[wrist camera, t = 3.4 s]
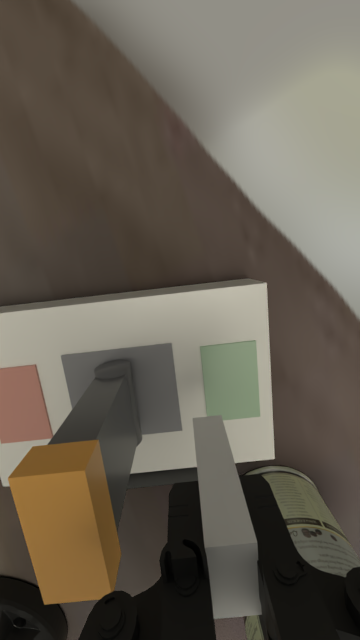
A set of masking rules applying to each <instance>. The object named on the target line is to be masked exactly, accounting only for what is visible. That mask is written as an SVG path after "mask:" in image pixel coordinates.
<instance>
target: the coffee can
mask: <svg viewBox="0 0 360 640" xmlns="http://www.w3.org/2000/svg"><path fill="white" fill-rule="evenodd" d="M252 474H261V475H262V476H263V477H264V478H265V479H266V481H267V482H268V483H269V484H270V487H271V489H272V492H273V494H274V497H275V499H276V501H277V504H278V507H279V509H280V511H281V513H282V516H283V518H284V521H285V523H286V526H287V528H288V530H289V533H290V535H291V538H292V540H293V543H294V545H295V547H296V549H297V551H298V552H299V554H300V555H301V556H302V557H303V559H304V560H306V561H307V562H308V563H309V564H310V565H312V566H314V567H315V568H317V569H319V570H322V571H324V572H328V573H331V574H335V575H339V576H343V577H346V574H347V572H349V571H350V570H351V569H352V568H355V567H360V559H359V558H358V556H357V555H356V553H355V551H354V550H353V548H352V546H351V545H350V543H349V542H348V540H347V538H346V537H345V535H344V534H343V532H342V530H341V528H340V527H339V525H338V524H337V522H336V520H335V519H334V517H333V515H332V514H331V512H330V511H329V509H328V507H327V506H326V504H325V502H324V501H323V499H322V498H321V496H320V494H319V492H318V490H317V488H316V486H315V484H314V483H313V482H312V481H311V480H310V479H309V478H308V477H307V476H306V475H304V474H303V473H301V472H299V471H297V470H295V469H292V468H290V467H285V466H267V467H262V468H258V469H255V470H253V471H250V472H248V473H247V474H245V475H252ZM261 609H262V607H261ZM243 618H244V624H245V630H246V636H247V640H267V632H266V623H265V619H264V615H263V611H262V615H252V616H243Z"/></svg>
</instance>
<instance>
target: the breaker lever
mask: <svg viewBox="0 0 360 640" xmlns="http://www.w3.org/2000/svg"><path fill="white" fill-rule="evenodd" d="M94 374H95V378H94V380H93V381H92V382H91V384H90V385H89V387H88V388H87V389H86V391H85V392H84V394H83V395H82V397H81V398H80V399H79V401H78V402H77V404H76V405H75V406H74V408H73V409H72V411H71V412H70V413H69V415H68V416H67V418H66V419H65V420H64V422H63V423H62V425H61V426H60V427H59V429H58V430H57V432H56V433H55V435H54V436H53V437H52V439H51V440H50V442H49V443H48V444H47V445H41V446H33V447H32V448H31V449H30V450H29V452H28V453H27V454H26V455H25V457H24V458H23V459H22V461H21V462H20V463H19V464H18V466H17V467H16V468H15V470H14V471H13V472H12V473H11V475H10V476H9V477H8V481H9V485H10V488H11V492H12V495H13V499H14V502H15V506H16V509H17V512H18V516H19V519H20V523H21V526H22V530H23V533H24V537H25V540H26V543H27V547H28V550H29V554H30V557H31V561H32V564H33V568H34V571H35V575H36V578H37V581H38V585H39V588H40V592H41V595H42V599H43V602H44V605H46V604H57V603H68V602H78V601H89V600H100V599H101V598H102V597H103V596H105V595H107V594H109V593H111V592H113V591H114V589H115V584H116V578H117V573H118V568H119V563H120V558H121V550H120V545H119V540H118V535H117V530H118V526H119V521H120V517H121V512H122V508H123V504H124V499H125V495H126V490H127V486H128V481H129V477H130V473H131V468H132V464H133V459H134V455H135V450H136V447H137V446H138V445H139V444H140V443H141V441H142V431H141V425H140V419H139V413H138V407H137V400H136V394H135V388H134V382H133V375H132V369H131V363H130V362H129V361H126V360H116V361H110V362H106V363H103V364H101V365H99V366H97V367H96V368H95V369H94Z"/></svg>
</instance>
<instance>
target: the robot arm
mask: <svg viewBox="0 0 360 640" xmlns="http://www.w3.org/2000/svg"><path fill="white" fill-rule="evenodd" d="M192 419H193V429H194V440H195V451H196V461H197V472H198V481H190V482H180V483H174V485H173V487H172V489H171V491H170V493H169V514H168V517H169V519H168V542H167V544H166V545H165V547H164V548H163V550H162V552H161V556H160V560H159V561H160V567H161V574H162V576H161V577H160V579H159V580H158V581H157V582H156V583H155V584H154V585H153V586H152V587H151V588H149V589H148V590H146V591H144V592H142V593H140V594H138V595H136V596H134V597H131V595H130V594H128V593H126V592H124V591H113V592H111V593H109V594H107V595H105V596H103V597H102V598H101V599H100V600H99V601H98V602H97V603H96V604H95V606H94V607H93V609H92V611H91V613H90V614H89V616H88V619H87V621H86V623H85V625H84V628H83V630H82V632H81V635H80V637H79V639H78V640H216V634H215V625H214V619H220V618H230V617H241V616H252V615H262V611H263V615H264V619H265V623H266V632H267V640H360V567H355V568H352V569H351V570H350V571H349V572H347V574H346V577H343V576H339V575H335V574H331V573H328V572H324V571H322V570H319V569H317V568H315V567H314V566H312V565H310V564H309V563H308V562H307V561H306V560H304V559H303V557H302V556H301V555H300V554H299V552H298V551H297V549H296V547H295V545H294V543H293V540H292V538H291V535H290V533H289V530H288V528H287V526H286V523H285V521H284V518H283V516H282V513H281V511H280V509H279V507H278V504H277V501H276V499H275V497H274V494H273V492H272V489H271V487H270V484H269V483H268V482H267V481H266V479H265V478H264V477H263V476H262V475H261V474H252V475H242V476H238V472H237V469H236V465H235V462H234V458H233V455H232V451H231V448H230V444H229V440H228V437H227V433H226V430H225V426H224V423H223V419H222V416H221V415H216V416H206V417H197V418H192ZM261 607H262V609H261ZM66 639H67V624H66V620H65V617H64V615H63V613H62V611H61V609H60V608H59V607H58V605H57V604H46V605H44V602H43V599H42V595H41V592H40V590H39V589H37V588H36V587H34V586H32V585H29V584H27V583H24V582H21V581H18V580H14V579H9V578H2V577H0V640H66Z"/></svg>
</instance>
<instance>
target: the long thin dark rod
mask: <svg viewBox="0 0 360 640" xmlns="http://www.w3.org/2000/svg"><path fill="white" fill-rule="evenodd" d="M190 481H198V472H197V467H191V468H181V469H171V470H162V471H152V472H142V473H132V474H130V477H129V481H128V486H127V489H130V488H140V487H150V486H160V485H170V484H174V483H180V482H190Z"/></svg>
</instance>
